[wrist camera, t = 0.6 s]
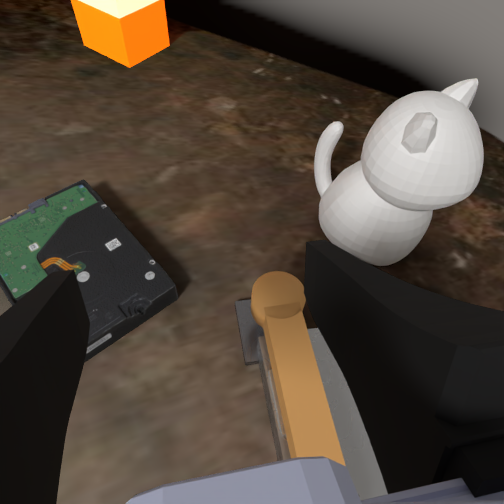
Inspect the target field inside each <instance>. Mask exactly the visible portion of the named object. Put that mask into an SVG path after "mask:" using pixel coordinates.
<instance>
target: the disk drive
mask: <svg viewBox="0 0 504 504" xmlns="http://www.w3.org/2000/svg"><path fill="white" fill-rule="evenodd" d="M28 206H29V209H24V210H22V211H20V212H18V213H14V214H15V216H12V215H10V216H9V217H7V218H5V219H3V220H1V221H0V286H1V288H2V290H3V291H4V293H5V294H6V296H7V298H8V300H9V301H10V303H11V305H12V306H13V305H14V304H15V303H16V302H18V301H19V300H20V299H21V298H22V297H23V296H24V295H26V294H27V293H28V292H29V291H30V290H31V289H32V288H34V287H35V286H36V285H37V284H38V283H39V282H40V281H42V280H43V279H44V278H45V277H46V276H48V275H49V274H50V273H52V272H56V271H64V270H73V269H74V271H75V274H76V277H77V281H78V284H79V287H80V291H81V294H82V297H83V301H84V304H85V307H86V311H87V314H88V317H89V320H90V329H89V339H88V347H87V353H86V357H85V361H84V362H86V361H88V360H89V359H91V358H92V357H93V356H95V355H96V354H98V353H99V352H101V351H102V350H104V349H105V348H107V347H108V346H110V345H111V344H113V343H114V342H116V341H117V340H119V339H120V338H121V337H123V336H125V335H126V334H127V333H129V332H130V331H132V330H133V329H135V328H136V327H138V326H139V325H141V324H142V323H144V322H145V321H147V320H148V319H150V318H151V317H153V316H154V315H155V314H157V313H158V312H160V311H161V310H162V309H164V308H165V307H166V306H168V305H170V304H172V303H173V302H174V301H176V300H177V299H178V294H177V288H176V285H175V283H174V282H173V281H172V280H171V278H170V277H169V276H168V274H167V272H166V271H165V270H164V269H163V268H162V267H161V266H160V265H159V264H158V263H157V262H156V261H155V260H154V259H153V257H152V256H151V255H150V254H149V252H148V251H147V250H146V249H145V248H144V247H143V246H142V245H141V244H140V243H139V241H138V240H137V239H136V238H135V237H134V236H133V234H132V233H131V232H130V231H129V230H128V229H127V228H126V227H125V225H124V224H123V223H122V222H121V221H120V219H118V217H117V216H116V215H115V214H114V213H113V212H112V210H111V209H110V208H109V207H108V206H107V205H106V204H105V203H104V201H103V200H102V198H101V197H100V196H99V195H98V194H97V192H96V191H94V190H93V189H92V188H91V186H90V185H89V184H88V183H87V182H86V181H85V180H81V181H79V182H77V183H74V184H72V185H70V186H68V187H66V188H64V189H62V190H59V191H58V192H55V193H53V194H51V195H49V196H47V197H45V199H44V198H42V199H39V200H37V201H35V202H33V203H31V204H29V205H28Z"/></svg>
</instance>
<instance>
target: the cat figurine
mask: <svg viewBox="0 0 504 504" xmlns="http://www.w3.org/2000/svg"><path fill="white" fill-rule="evenodd" d="M477 87H478V80H477V78H476V79H468V80H464V81H461V82H458V83H456V84H454V85H452V86H450V87H448V88H446V89H445V90H443V91H442V92H437V91H420V92H414V93H411V94H408V95H406V96H404V97H402V98H400V99H399V100H397V101H395V102H394V103H393V104H391V105H390V106H389V107H388V108H387V109H386V110H385V111H384V112H383V113H382V114H381V115H380V116H379V117H378V119H377V120H376V121H375V123H374V124H373V126H372V127H371V129H370V131H369V133H368V135H367V137H366V139H365V141H364V145H363V150H362V155H361V160H360V161H358V162H356V163H355V164H353V165H351V166H349V167H348V168H346V169H344V170H343V171H342V172H341V173H340V174H339V175H338V176H337V178H336V179H335V180H334V181H333V182H332V179H331V170H330V165H331V156H332V153H333V150H334V148H335V146H336V144H337V142H338V140H339V138H340V137H341V135H342V132H343V124H342V123H341V122H333V123H332V124H330V125H329V126H328V127H327V128H326V129H325V130H324V132H323V133H322V135H321V137H320V139H319V142H318V144H317V148H316V153H315V161H314V172H315V181H316V186H317V189H318V192H319V194H320V196H321V201H320V203H319V222H320V226H321V228H322V230H323V232H324V234H325V235H326V237H327V238H328V239H329V240H330V242H331V243H332V244H334V245H336V246H338V247H340V248H341V249H343V250H345V251H347V252H348V253H350V254H352V255H354V256H355V257H357V258H359V259H361V260H363V261H365V262H367V263H369V264H373V265H377V266H388V265H391V264H393V263H396V262H398V261H400V260H401V259H403V258H404V257H406V256H407V255H408V254H409V253H410V252H411V251H412V250H413V249H414V248H415V247H416V245H417V244H418V243H419V242H420V240H421V239H422V237H423V236H424V234H425V232H426V231H427V229H428V226H429V224H430V221H431V218H432V213H433V210H435V209H440V208H444V207H449V206H451V205H454V204H456V203H458V202H460V201H462V200H464V199H465V198H467V197H468V196H469V195H470V194H471V193H472V192H473V190H474V189H475V188H476V186H477V184H478V182H479V179H480V176H481V174H482V167H483V158H484V157H483V144H482V139H481V134H480V130H479V127H478V124H477V122H476V120H475V118H474V116H473V114H472V113H471V111H470V110H469V107H470V104H471V102H472V100H473V98H474V96H475V93H476V90H477Z"/></svg>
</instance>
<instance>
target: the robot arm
mask: <svg viewBox="0 0 504 504" xmlns="http://www.w3.org/2000/svg"><path fill="white" fill-rule="evenodd" d="M304 295H305V298H306V301H307V304H308V306H309V309H310V312H311V314H312V317H313V319H314V321H315V323H316V325H317V327H318V329H319V331H320V332H321V334H322V336H323V338H324V340H325V342H326V344H327V345H328V347H329V349H330V351H331V353H332V355H333V357H334V358H335V360H336V362H337V364H338V366H339V368H340V369H341V371H342V373H343V376H344V378H345V380H346V382H347V384H348V386H349V389H350V391H351V394H352V396H353V399H354V401H355V404H356V406H357V409H358V411H359V414H360V416H361V419H362V422H363V424H364V427H365V430H366V432H367V435H368V438H369V440H370V443H371V446H372V449H373V452H374V454H375V457H376V460H377V463H378V466H379V469H380V472H381V474H382V477H383V481H384V484H385V487H386V490H387V493H388V494H387V495H383V496H378V497H374V498H369V499H365V500H360V498H359V496H358V493H357V491H356V488H355V486H354V483H353V481H352V479H351V476H350V474H349V471H348V469H347V467H346V466H344V465H342V464H340V463H337V462H335V461H333V460H331V459H329V458H326V457H323V456H318V457H296V458H291V459H286V460H282V461H277V462H272V463H267V464H262V465H257V466H252V467H247V468H242V469H237V470H232V471H228V472H223V473H218V474H213V475H208V476H203V477H198V478H193V479H188V480H183V481H178V482H174V483H169V484H164V485H161V486H158V487H156V488H153V489H150V490H147V491H145V492H142V493H139V494H136V495H135V496H134V497H133V498H132V499H130V500H129V501H128V502H127V503H126V504H504V311H500V310H495V309H491V308H486V307H482V306H478V305H474V304H470V303H466V302H462V301H459V300H456V299H452V298H449V297H446V296H442V295H439V294H436V293H433V292H431V291H428V290H425V289H423V288H420V287H417V286H415V285H412V284H410V283H407V282H405V281H403V280H400V279H398V278H396V277H394V276H392V275H390V274H388V273H386V272H383V271H381V270H379V269H378V268H376V267H374V266H372V265H370V264H368V263H366V262H364V261H363V260H361V259H359V258H357V257H355V256H354V255H352V254H350V253H348V252H347V251H345V250H343V249H341V248H340V247H338V246H336V245H334V244H332V243H330V242H328V241H326V240H318V241H310V242H306V261H305V280H304ZM89 329H90V320H89V317H88V314H87V311H86V307H85V304H84V301H83V297H82V294H81V291H80V287H79V284H78V281H77V277H76V274H75V271H74V269H73V270H64V271H56V272H52V273H50V274H49V275H48V276H46V277H45V278H44V279H43V280H42V281H40V282H39V283H38V284H37V285H36V286H35V287H34V288H32V289H31V290H30V291H29V292H28V293H27V294H26V295H24V296H23V297H22V298H21V299H20V300H19V301H18V302H16V303H15V304H14V305H13V306H12V307H11V308H9V309H8V310H7V311H6V312H5V313H3V314H2V315H1V316H0V504H56V501H57V493H58V485H59V478H60V470H61V463H62V456H63V449H64V443H65V436H66V431H67V426H68V422H69V417H70V413H71V410H72V406H73V402H74V399H75V395H76V391H77V388H78V384H79V380H80V376H81V373H82V369H83V365H84V361H85V357H86V353H87V347H88V339H89Z"/></svg>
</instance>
